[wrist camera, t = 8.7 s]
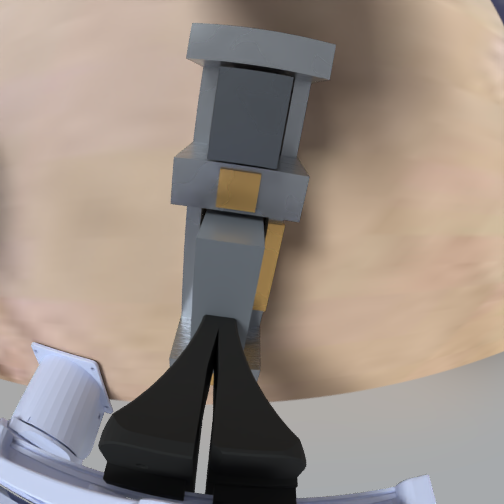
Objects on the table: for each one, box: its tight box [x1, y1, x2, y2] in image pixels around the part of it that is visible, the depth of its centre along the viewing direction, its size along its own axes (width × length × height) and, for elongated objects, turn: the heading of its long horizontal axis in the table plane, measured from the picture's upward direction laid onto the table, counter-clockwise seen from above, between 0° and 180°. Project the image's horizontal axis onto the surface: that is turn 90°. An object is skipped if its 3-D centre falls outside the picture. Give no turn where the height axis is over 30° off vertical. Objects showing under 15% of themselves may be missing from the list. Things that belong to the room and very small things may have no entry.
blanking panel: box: [190, 209, 265, 373], centre depth 16 cm, size 8×2×7 cm, turn 171°
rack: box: [169, 23, 336, 385], centre depth 15 cm, size 19×6×6 cm, turn 171°
